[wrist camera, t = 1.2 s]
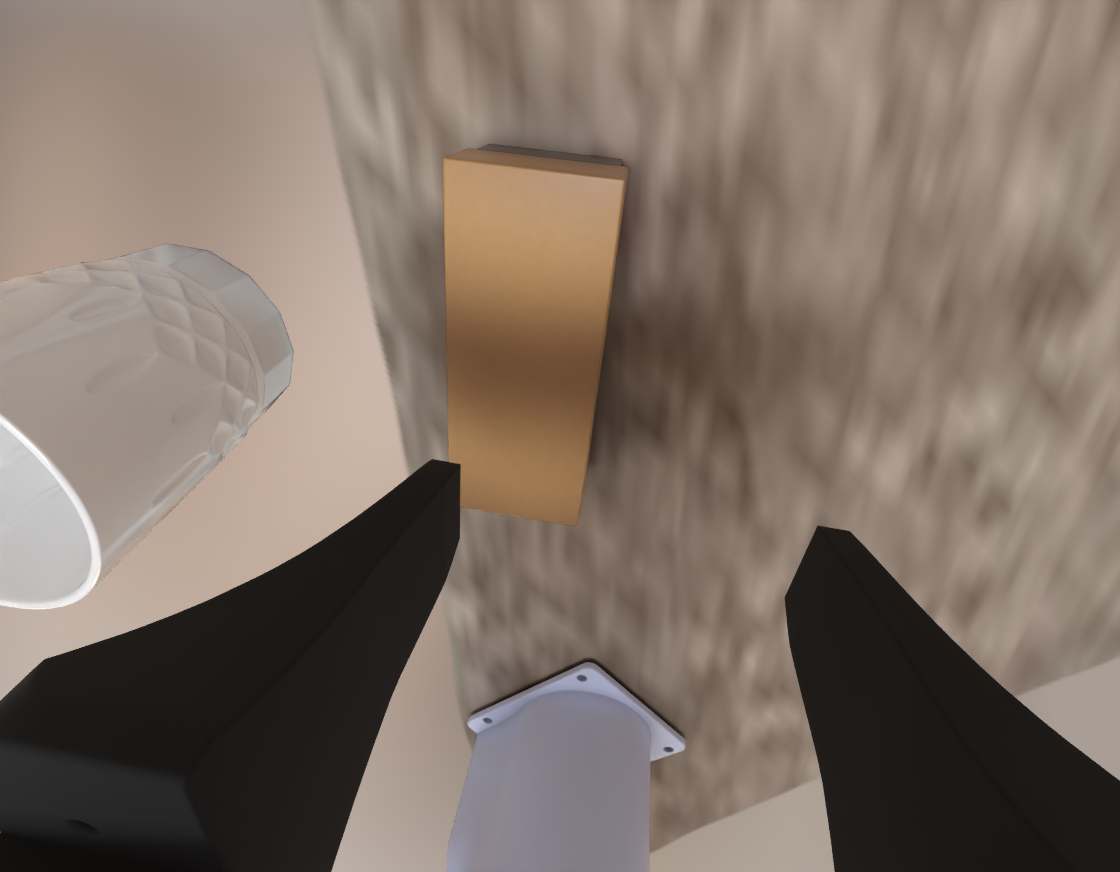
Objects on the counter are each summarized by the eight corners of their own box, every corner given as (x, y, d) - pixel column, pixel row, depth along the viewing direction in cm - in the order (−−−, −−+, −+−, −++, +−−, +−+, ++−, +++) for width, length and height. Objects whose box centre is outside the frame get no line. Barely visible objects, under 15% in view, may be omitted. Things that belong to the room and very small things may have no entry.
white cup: (351, 374, 22) (162, 558, 14) (222, 450, 25) (1, 639, 17) (194, 180, 19) (-176, 264, 11) (68, 293, 22) (-299, 428, 14)
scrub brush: (588, 466, 23) (577, 526, 20) (476, 449, 23) (449, 505, 20) (631, 160, 17) (625, 178, 14) (480, 142, 17) (441, 157, 14)
